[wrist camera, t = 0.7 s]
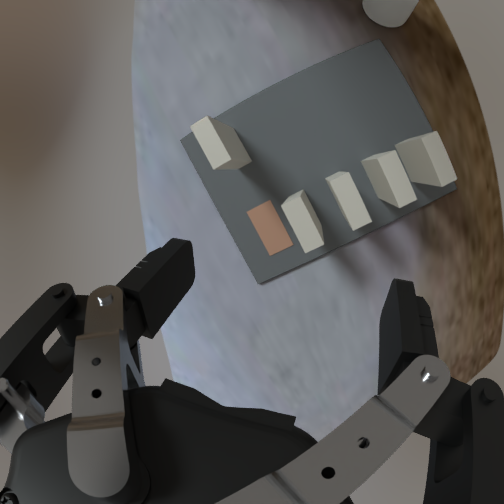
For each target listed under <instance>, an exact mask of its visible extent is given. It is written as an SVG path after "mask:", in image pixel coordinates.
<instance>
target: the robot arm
mask: <svg viewBox="0 0 504 504" xmlns="http://www.w3.org/2000/svg"><path fill="white" fill-rule="evenodd" d="M194 279H195V266H194V257H193V247H192V243H191V242H190V241H188V240H182V239H177V238H172V239H171V240H169V241H168V242H167V243H166V244H165V245H164V246H163V247H162V248H161V247H160V248H158V249H156V250H154V251H152V252H150V253H149V254H148V255H147V256H146V257H145V258H143V259H142V261H140V262H139V263H138V264H137V265H136V267H134V268H133V269H132V270H131V271H130V272H129V273H128V274H127V275H126V276H125V277H124V278H123V279H122V280H121V281H120V282H119V283H118V284H117V285H116V286H114V285H105V286H101V287H99V288H97V289H95V290H94V291H93V292H92V293H91V294H90V295H89V296H88V295H75V293H74V290H73V287H72V286H71V285H70V284H67V283H60V284H56V285H54V286H52V287H50V288H49V289H48V290H47V291H46V292H45V293H44V294H43V295H42V296H41V297H40V298H39V299H38V300H37V301H36V302H35V303H34V304H33V305H32V306H31V307H30V308H29V309H28V310H27V311H26V312H25V313H24V314H23V315H22V316H21V317H20V318H19V319H18V320H17V321H16V322H15V323H14V324H13V325H12V327H11V328H10V329H9V330H8V331H7V332H6V333H5V334H4V335H3V336H2V337H1V339H0V444H1V445H2V446H4V447H5V448H6V449H7V450H8V451H9V452H10V453H11V454H12V456H11V464H10V469H9V474H8V478H7V481H6V484H5V486H4V488H3V490H2V491H1V492H0V504H354V503H353V502H352V500H351V498H350V496H349V495H350V494H351V493H352V492H354V491H355V490H356V489H357V488H358V487H359V486H360V485H362V484H363V483H364V482H365V481H366V480H367V479H368V478H369V477H370V476H371V475H372V474H373V473H374V472H375V471H376V470H378V468H380V466H382V465H383V463H385V461H386V460H387V459H388V458H389V457H390V456H391V455H392V454H393V453H394V452H395V451H396V450H397V449H398V448H399V447H400V446H401V445H402V443H403V442H404V441H405V440H406V439H407V438H408V437H409V435H410V434H411V433H412V432H415V433H418V434H420V435H422V436H425V437H428V438H430V439H431V440H430V454H429V464H428V473H427V481H426V488H425V495H424V501H423V504H504V396H503V392H502V390H501V388H500V387H499V385H498V384H497V383H495V382H494V381H492V380H491V379H487V378H480V379H478V380H476V381H475V382H474V383H473V384H472V386H470V385H468V384H465V383H463V382H460V381H458V380H456V379H454V378H452V377H451V376H450V371H449V369H448V367H447V365H446V364H445V363H444V362H443V361H442V360H441V359H439V356H438V349H437V343H436V337H435V331H434V328H433V321H432V315H431V311H430V307H429V305H428V304H427V302H426V301H425V299H424V298H423V297H419V296H416V294H415V289H414V284H413V282H412V281H406V280H401V279H395V278H394V279H393V281H392V283H391V286H390V289H389V292H388V295H387V298H386V301H385V304H384V307H383V309H382V313H381V317H380V326H379V376H378V394H377V395H379V396H377V395H375V396H374V397H372V398H371V399H370V400H369V401H367V402H366V403H365V404H364V405H363V406H362V407H361V408H360V409H358V410H357V411H356V412H355V413H354V414H353V415H352V416H350V417H349V418H348V419H347V420H346V421H344V422H343V423H342V424H341V425H340V426H338V427H337V428H336V429H335V430H333V431H332V432H331V433H330V434H328V435H327V436H326V437H324V438H323V439H322V440H320V441H319V442H317V441H316V440H315V439H314V438H313V437H312V436H311V435H309V434H308V433H307V432H305V431H303V430H302V429H300V428H298V427H296V426H294V423H295V419H296V417H295V416H290V415H286V414H282V413H277V412H273V411H269V410H265V409H256V408H236V407H225V406H222V405H220V404H219V403H217V402H215V401H214V400H212V399H210V398H209V397H207V396H205V395H204V394H202V393H201V392H199V391H197V390H196V389H194V388H191V387H188V386H185V385H183V384H180V383H177V382H174V381H172V380H169V379H165V380H164V382H163V383H162V385H161V386H145V382H144V376H143V369H142V361H141V353H140V344H139V341H138V339H139V338H140V337H141V336H145V337H148V338H150V339H153V337H154V336H155V334H156V333H157V332H158V331H159V329H160V328H161V327H162V325H163V324H164V323H165V321H166V320H167V318H168V317H169V316H170V314H171V313H172V312H173V310H174V309H175V308H176V306H177V305H178V304H179V302H180V301H181V300H182V298H183V297H184V296H185V294H186V293H187V292H188V291H189V289H190V288H191V286H192V285H193V282H194ZM56 327H57V329H58V331H59V333H60V335H61V336H60V338H59V339H58V340H57V341H56V342H55V344H54V345H53V346H52V347H51V348H50V350H49V351H48V352H47V353H46V355H44V353H43V343H44V342H45V340H46V339H47V338H48V337H49V335H50V334H51V333H52V332H53V331H54V330H55V328H56ZM72 373H73V384H72V385H73V386H72V413H70V414H67V415H64V416H61V417H58V418H56V419H53V420H50V421H47V422H45V421H44V417H45V412H46V410H47V409H48V407H49V406H50V404H51V403H52V401H53V400H54V398H55V397H56V396H57V394H58V393H59V391H60V390H61V389H62V387H63V386H64V384H65V383H66V382H67V380H68V379H69V377H70V376H71V375H72Z"/></svg>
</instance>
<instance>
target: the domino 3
mask: <svg viewBox="0 0 504 504" xmlns="http://www.w3.org/2000/svg"><path fill="white" fill-rule="evenodd" d="M325 179H326V181H327V183H328V185H329V187H330V189H331V191H332V193H333V195H334V197H335V199H336V201H337V203H338V206H339V208H340V210H341V212H342V214H343V216H344V217H345V219H346V220H347V222H348V223H349V225H350V227H351V228H352V230H353V231H354V230H356V229H358V228H360V227H362V226H364V225H366V224H368V223H370V222H372V220H371V218H370V216H369V214H368V211H367V209H366V207H365V205H364V203H363V200H362V198H361V196H360V194H359V192H358V190H357V188H356V186H355V184H354V182H353V180H352V177H351V175H350V173H349V172H341V171H339V172H337V173H335V174H333V175H331V176H329V177H327V178H325Z"/></svg>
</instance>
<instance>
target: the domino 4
mask: <svg viewBox="0 0 504 504" xmlns="http://www.w3.org/2000/svg"><path fill="white" fill-rule="evenodd" d="M361 163H362V165H363V167H364V169H365V171H366V173H367V175H368V177H369V179H370V182H371V184H372V186H373V188H374V190H375V192H376V195H377V197H378V198H379V199H382V200H384V201H386V202H388V203H390V204H392V205H394V206H396V207H398V208H401V207H403V206H405V205H407V204H409V203H411V202H413V201H415V200H417V198H416V195H415V193H414V190H413V188H412V186H411V183H410V181H409V179H408V176H407V174H406V172H405V170H404V167H403V165H402V163H401V161H400V159H399V157H398V155H397V152H396V150H393V151H388V152H384V153H379V154H375V155H372V156H370V157H368V158H366V159H364V160H362V161H361Z"/></svg>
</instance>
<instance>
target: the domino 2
mask: <svg viewBox="0 0 504 504" xmlns="http://www.w3.org/2000/svg"><path fill="white" fill-rule="evenodd" d="M281 207H282V209H283V211H284V213H285V215H286V217H287V219H288V221H289V223H290V225H291V226H292V228H293V230H294V232H295V234H296V236H297V238H298V240H299V242H300V244H301V246H302V248H303V250H304V252H305V253H307V252H309V251H311V250H314V249H316V248H318V247H320V246H322V245H324V239H323V232H322V225H321V223H320V221H319V219H318V217H317V215H316V213H315V211H314V209H313V207H312V205H311V203H310V201H309V199H308V197H307V195H306V193H305V191H304V189H303V190H301V191H299V192H297V193H295V194H293V195H291V196H289V197H288V198H287V199H286V200H285V202H284V203H283V204H282V205H281Z"/></svg>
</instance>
